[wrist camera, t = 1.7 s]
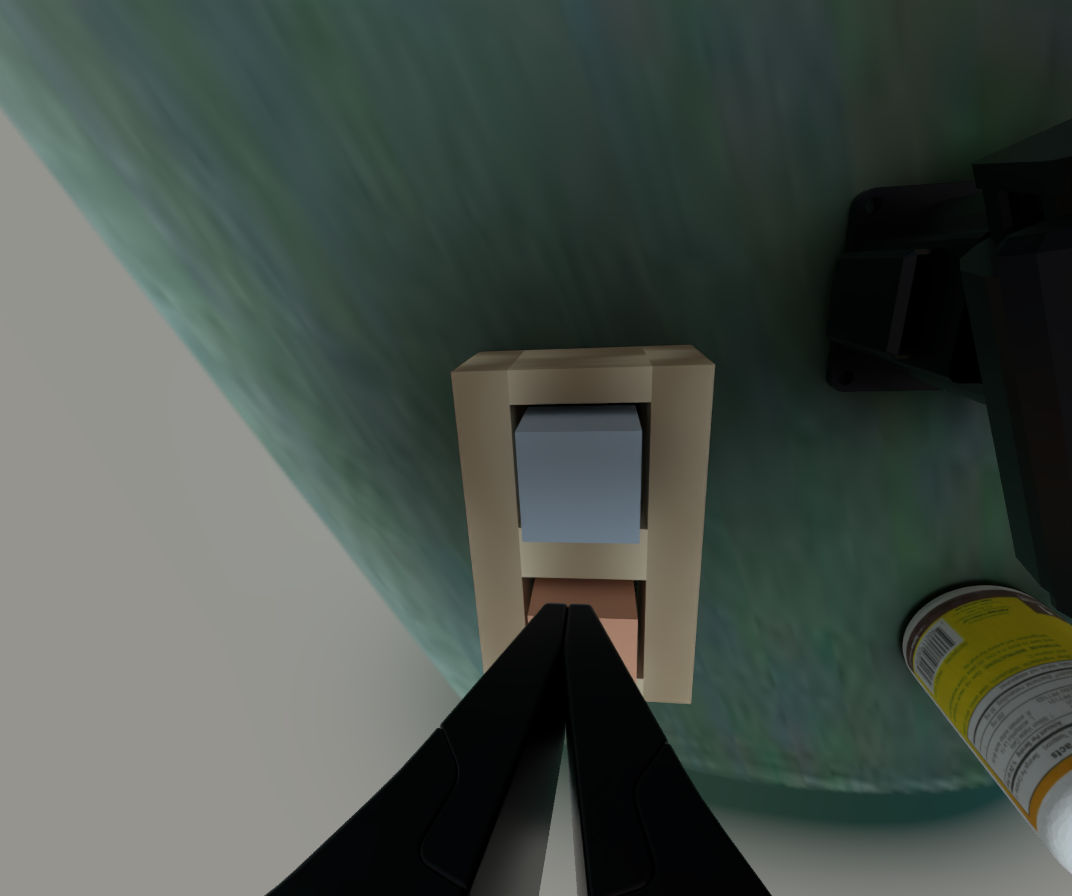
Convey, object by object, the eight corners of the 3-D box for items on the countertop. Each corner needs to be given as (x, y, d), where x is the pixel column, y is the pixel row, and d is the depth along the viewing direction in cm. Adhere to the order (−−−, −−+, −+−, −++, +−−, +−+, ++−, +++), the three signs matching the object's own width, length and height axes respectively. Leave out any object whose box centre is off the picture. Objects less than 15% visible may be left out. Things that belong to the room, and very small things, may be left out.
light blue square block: (635, 404, 16) (641, 431, 14) (633, 502, 18) (639, 543, 15) (528, 406, 17) (514, 432, 14) (533, 502, 18) (522, 541, 16)
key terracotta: (632, 570, 19) (637, 619, 16) (630, 647, 20) (635, 705, 17) (537, 567, 19) (527, 615, 16) (541, 643, 20) (532, 698, 18)
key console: (691, 344, 18) (714, 364, 15) (675, 632, 23) (691, 704, 19) (479, 351, 19) (450, 371, 16) (503, 625, 24) (486, 692, 20)
